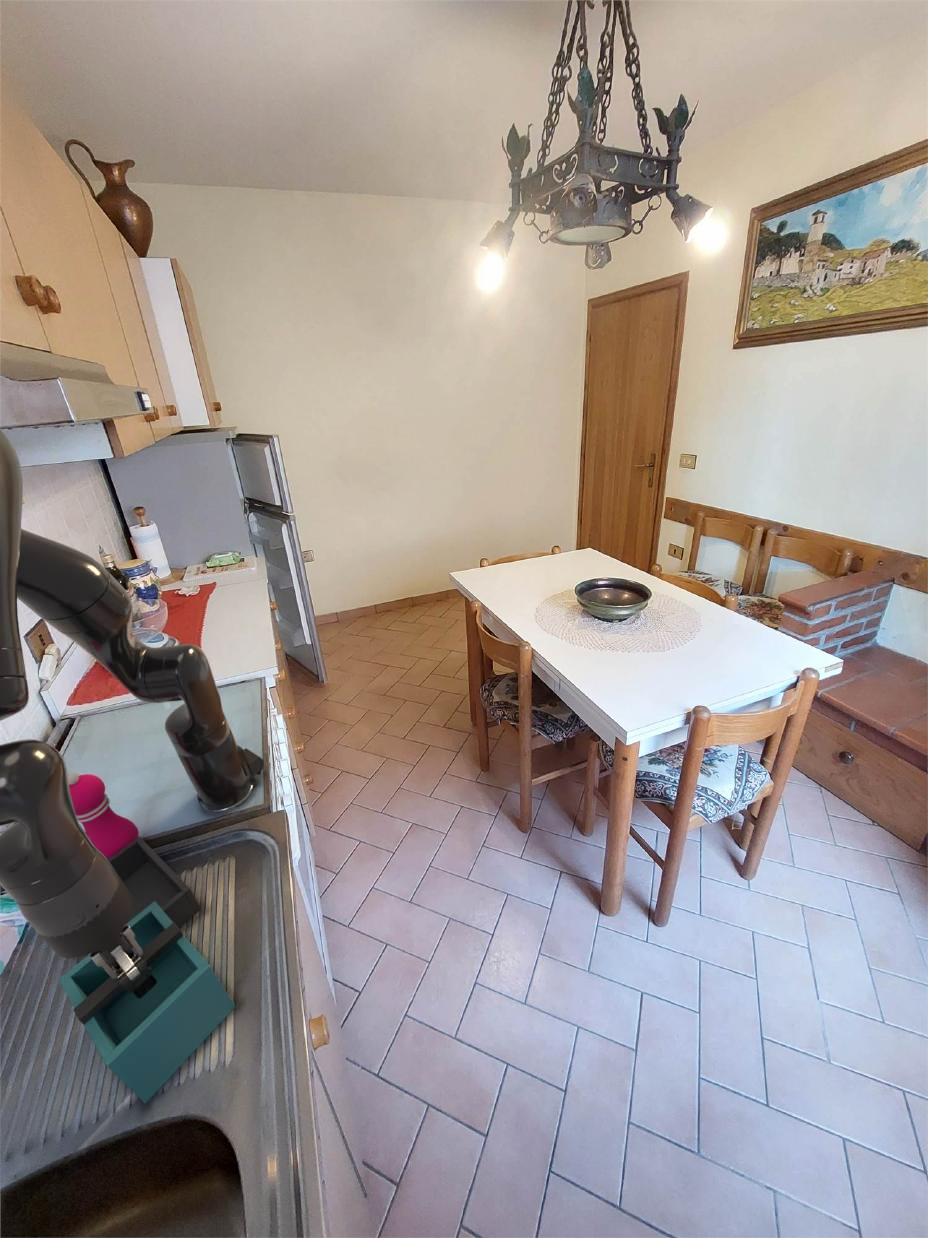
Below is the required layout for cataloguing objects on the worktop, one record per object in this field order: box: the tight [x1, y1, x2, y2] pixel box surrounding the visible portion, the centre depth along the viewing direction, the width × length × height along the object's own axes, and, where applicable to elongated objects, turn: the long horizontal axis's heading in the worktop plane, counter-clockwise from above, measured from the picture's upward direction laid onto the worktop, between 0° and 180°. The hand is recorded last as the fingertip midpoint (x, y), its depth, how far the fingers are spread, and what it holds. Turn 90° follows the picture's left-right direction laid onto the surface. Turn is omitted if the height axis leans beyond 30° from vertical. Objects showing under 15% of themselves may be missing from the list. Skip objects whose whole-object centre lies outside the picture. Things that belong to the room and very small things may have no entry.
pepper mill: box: [68, 772, 139, 859], centre depth 80 cm, size 7×7×20 cm
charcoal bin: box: [77, 836, 202, 962], centre depth 74 cm, size 14×17×6 cm
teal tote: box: [58, 901, 236, 1104], centre depth 61 cm, size 11×14×11 cm
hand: (142, 982), depth 60 cm, fingers closed
